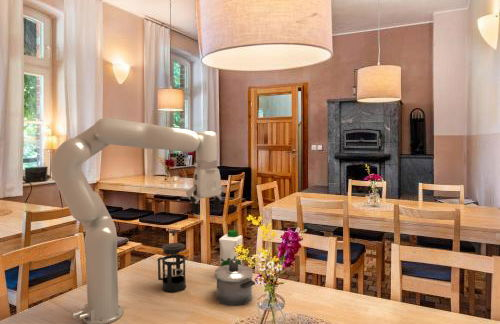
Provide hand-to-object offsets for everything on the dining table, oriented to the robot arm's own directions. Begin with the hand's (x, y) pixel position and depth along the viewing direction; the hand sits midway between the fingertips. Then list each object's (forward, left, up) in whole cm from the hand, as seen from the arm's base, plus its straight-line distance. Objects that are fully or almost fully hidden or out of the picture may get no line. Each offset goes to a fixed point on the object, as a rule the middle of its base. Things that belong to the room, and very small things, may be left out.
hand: (206, 212), depth 131 cm
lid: (+7, -7, -23) cm, 25 cm away
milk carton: (+18, +7, -32) cm, 38 cm away
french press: (-4, +17, -32) cm, 37 cm away
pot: (+7, -7, -32) cm, 34 cm away
